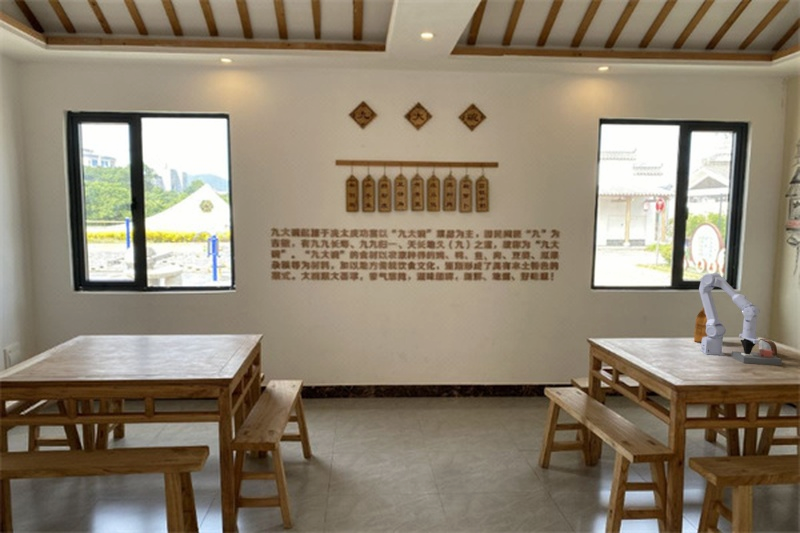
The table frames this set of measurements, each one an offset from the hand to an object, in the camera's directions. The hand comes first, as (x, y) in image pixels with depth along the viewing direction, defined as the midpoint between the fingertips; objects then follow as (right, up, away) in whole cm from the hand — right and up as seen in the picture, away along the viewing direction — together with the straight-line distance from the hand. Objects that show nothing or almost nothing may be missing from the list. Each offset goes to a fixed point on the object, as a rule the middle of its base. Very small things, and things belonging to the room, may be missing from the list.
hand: (747, 354), depth 266 cm
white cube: (0, -3, 0) cm, 3 cm away
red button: (+9, -1, -1) cm, 9 cm away
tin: (+19, -3, +13) cm, 23 cm away
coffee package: (+2, 0, +39) cm, 39 cm away
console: (+4, -4, 0) cm, 6 cm away
